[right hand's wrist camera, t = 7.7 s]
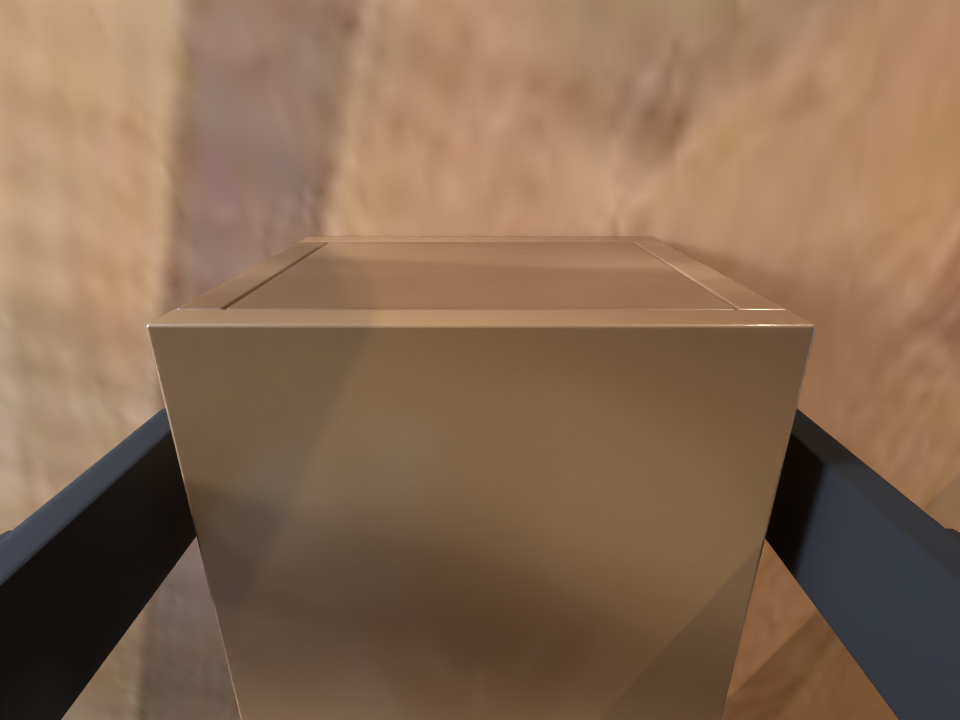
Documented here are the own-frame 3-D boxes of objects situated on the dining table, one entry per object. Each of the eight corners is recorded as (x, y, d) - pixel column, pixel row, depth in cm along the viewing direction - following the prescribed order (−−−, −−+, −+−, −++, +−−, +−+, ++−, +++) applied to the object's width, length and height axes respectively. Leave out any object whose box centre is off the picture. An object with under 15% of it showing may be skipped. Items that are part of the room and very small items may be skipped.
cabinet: (609, 612, 23) (683, 880, 15) (351, 612, 23) (278, 880, 15) (653, 236, 17) (819, 324, 9) (308, 236, 17) (143, 323, 9)
